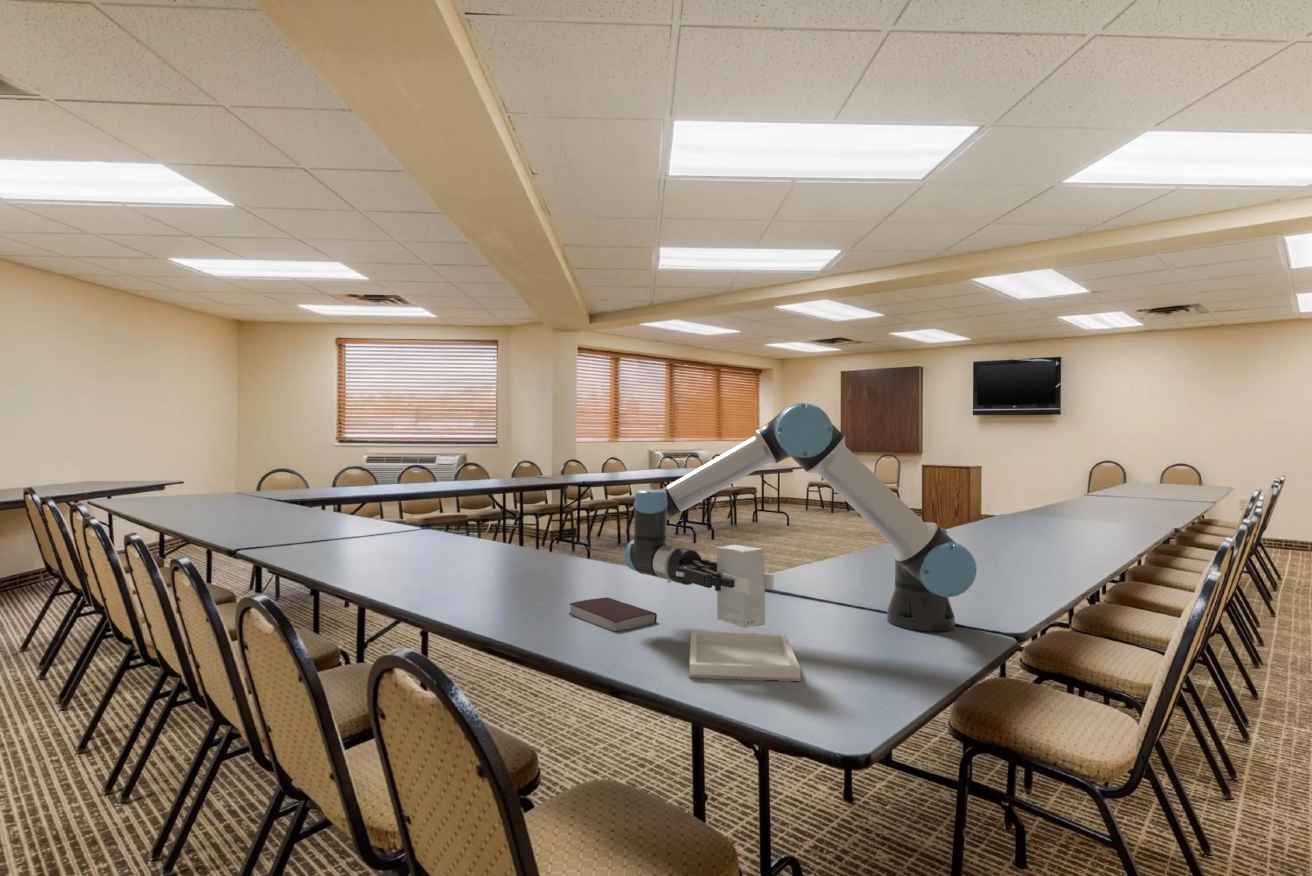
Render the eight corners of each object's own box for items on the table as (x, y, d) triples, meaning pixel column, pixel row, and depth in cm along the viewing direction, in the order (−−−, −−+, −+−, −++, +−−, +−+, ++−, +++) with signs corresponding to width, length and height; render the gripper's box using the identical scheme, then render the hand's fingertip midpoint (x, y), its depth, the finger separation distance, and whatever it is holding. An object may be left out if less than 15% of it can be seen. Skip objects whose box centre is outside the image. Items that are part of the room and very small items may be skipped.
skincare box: (765, 625, 124) (767, 549, 124) (743, 629, 120) (745, 551, 120) (735, 615, 130) (738, 542, 131) (713, 619, 127) (716, 544, 127)
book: (608, 607, 166) (608, 595, 166) (657, 624, 152) (657, 610, 152) (568, 616, 158) (568, 603, 158) (615, 634, 143) (615, 620, 143)
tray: (785, 646, 134) (785, 634, 134) (800, 681, 115) (800, 668, 115) (690, 643, 136) (691, 631, 136) (689, 677, 116) (689, 664, 116)
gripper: (708, 576, 145) (791, 596, 128) (644, 588, 133) (726, 611, 115) (709, 543, 145) (791, 559, 128) (645, 552, 133) (727, 570, 115)
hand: (760, 584), depth 121 cm, fingers closed on skincare box, 6 cm apart
